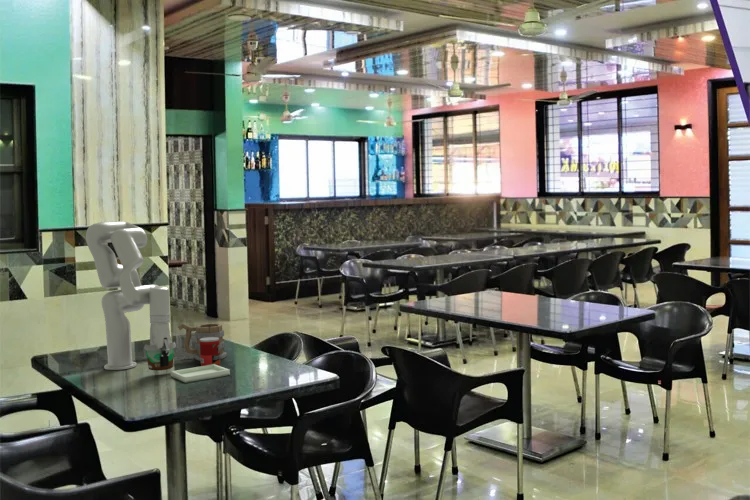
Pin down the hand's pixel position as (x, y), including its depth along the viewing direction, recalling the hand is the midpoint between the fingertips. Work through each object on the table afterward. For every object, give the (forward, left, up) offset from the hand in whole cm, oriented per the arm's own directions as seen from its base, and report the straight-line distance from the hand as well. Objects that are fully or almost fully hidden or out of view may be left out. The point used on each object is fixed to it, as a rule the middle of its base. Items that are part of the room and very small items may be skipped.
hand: (161, 364), depth 303 cm
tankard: (-19, +25, -4) cm, 32 cm away
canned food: (-2, +21, -4) cm, 22 cm away
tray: (+13, +10, -4) cm, 17 cm away
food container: (+1, 0, -2) cm, 2 cm away
